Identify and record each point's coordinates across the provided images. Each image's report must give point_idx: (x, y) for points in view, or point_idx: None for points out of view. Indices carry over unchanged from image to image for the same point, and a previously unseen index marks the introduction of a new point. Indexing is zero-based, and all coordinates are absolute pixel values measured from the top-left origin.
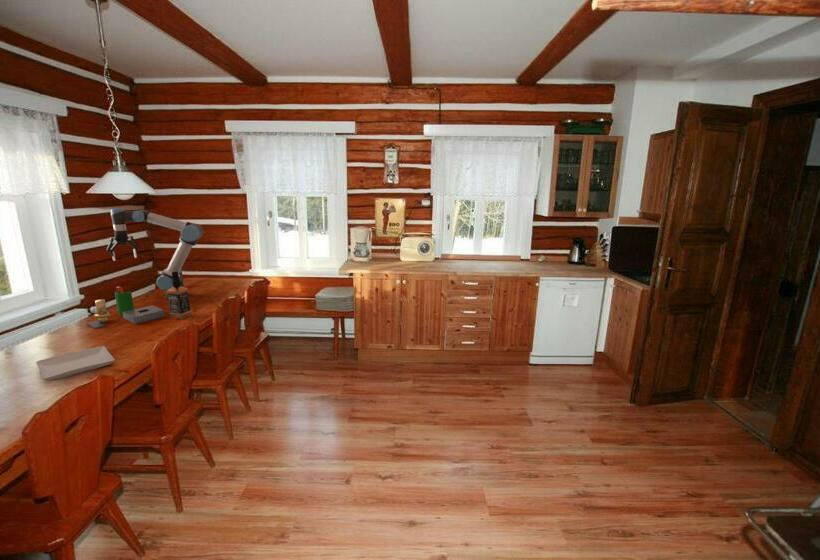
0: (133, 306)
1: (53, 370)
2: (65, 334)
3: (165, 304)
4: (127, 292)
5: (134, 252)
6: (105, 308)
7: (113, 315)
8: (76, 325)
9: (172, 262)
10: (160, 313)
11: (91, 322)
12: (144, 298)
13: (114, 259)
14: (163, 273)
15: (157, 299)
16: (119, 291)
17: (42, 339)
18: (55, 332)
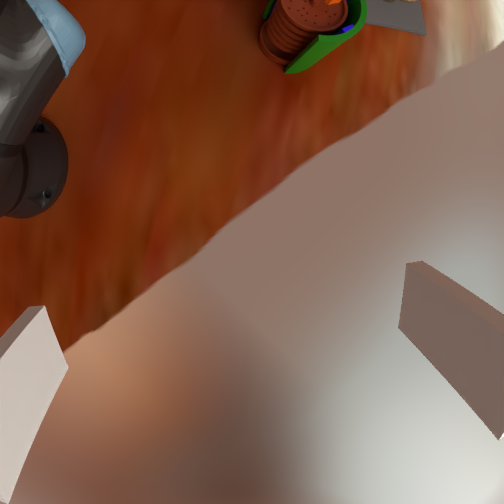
0: (268, 3)
1: None
2: (465, 4)
3: (106, 59)
4: (290, 15)
5: (6, 403)
6: None
7: (337, 56)
8: (445, 55)
9: None
10: None
11: (414, 25)
12: (144, 262)
13: (434, 269)
14: (4, 5)
15: (100, 190)
16: (334, 36)
17: (497, 23)
18: (482, 46)
